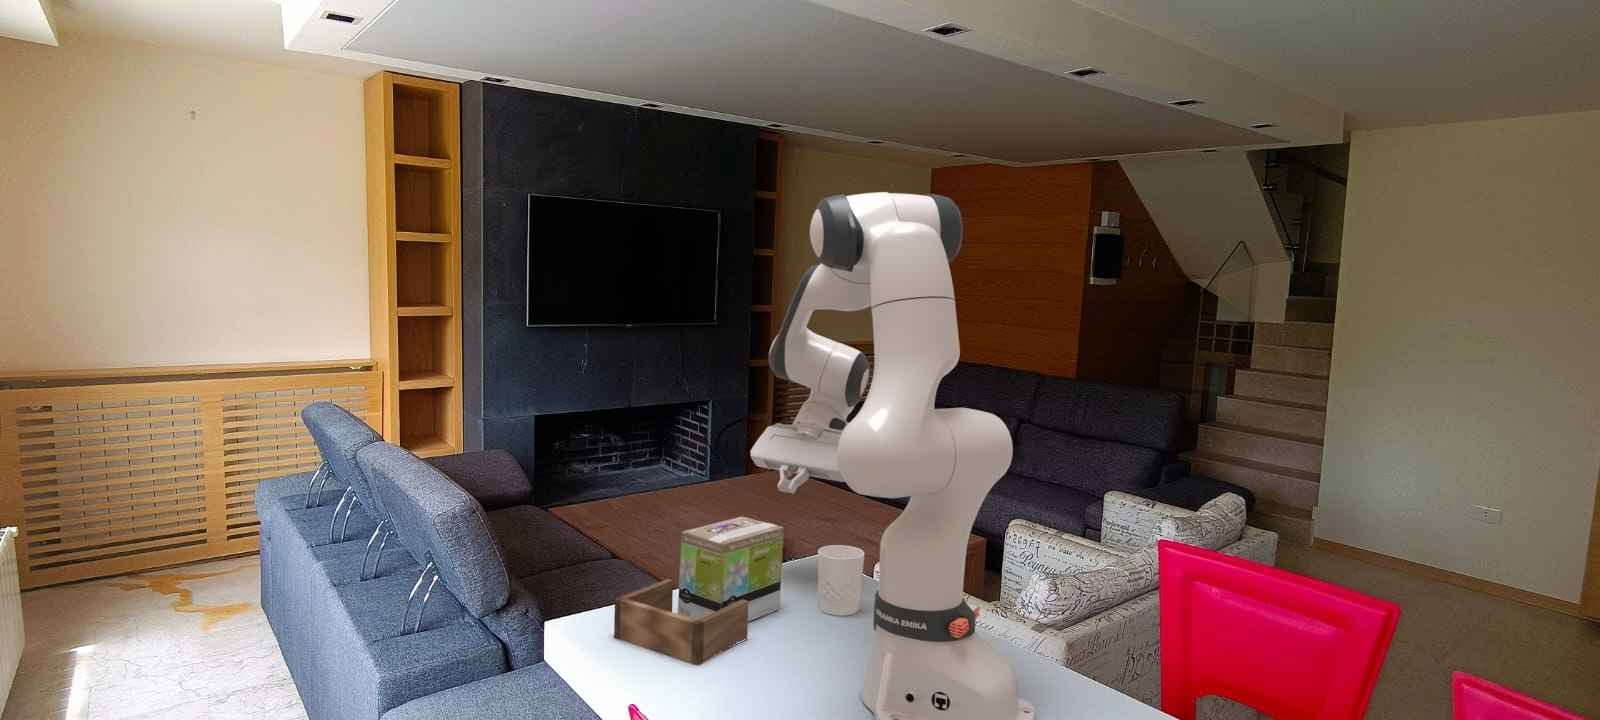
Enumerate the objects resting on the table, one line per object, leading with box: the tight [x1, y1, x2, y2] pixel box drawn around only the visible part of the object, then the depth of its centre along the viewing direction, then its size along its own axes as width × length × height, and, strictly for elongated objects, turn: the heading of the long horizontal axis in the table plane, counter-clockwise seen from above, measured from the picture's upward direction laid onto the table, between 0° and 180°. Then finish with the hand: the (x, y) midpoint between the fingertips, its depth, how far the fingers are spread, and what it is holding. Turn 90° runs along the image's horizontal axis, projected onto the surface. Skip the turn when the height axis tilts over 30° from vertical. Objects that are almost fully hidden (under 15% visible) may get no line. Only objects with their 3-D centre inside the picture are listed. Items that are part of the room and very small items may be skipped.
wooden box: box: [613, 578, 749, 666], centre depth 134 cm, size 16×12×6 cm
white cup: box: [817, 544, 865, 617], centre depth 148 cm, size 8×8×10 cm
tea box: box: [677, 516, 784, 622], centre depth 144 cm, size 15×10×15 cm, turn 143°
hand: (785, 490), depth 154 cm, fingers closed
